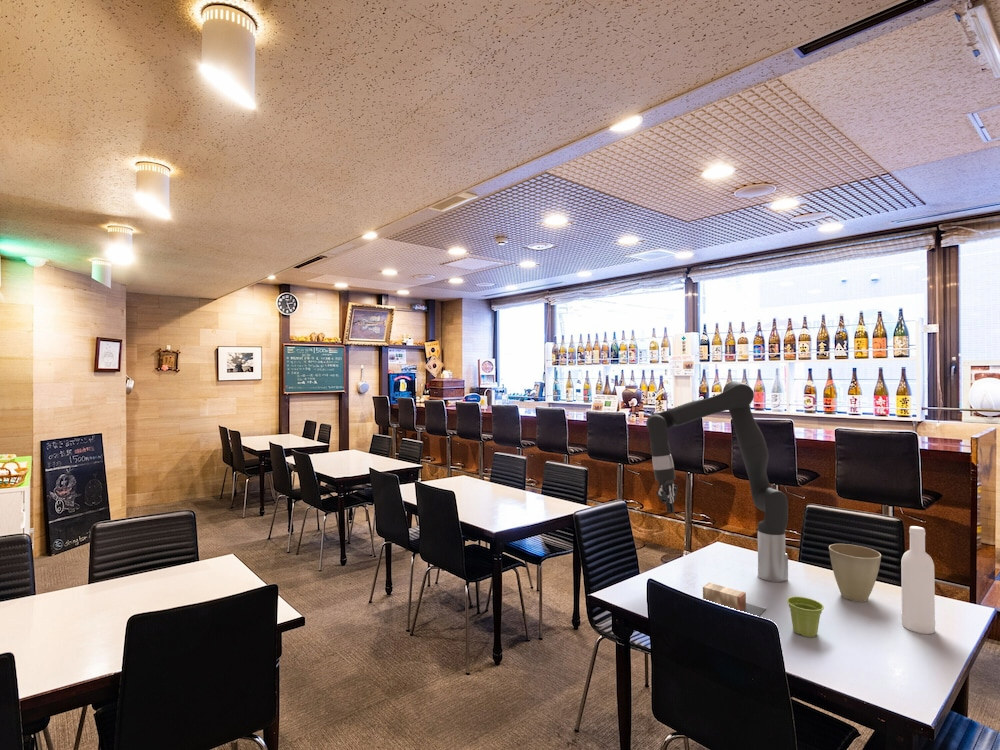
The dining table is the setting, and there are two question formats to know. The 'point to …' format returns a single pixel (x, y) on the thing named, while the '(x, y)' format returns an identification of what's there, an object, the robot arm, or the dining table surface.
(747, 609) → the slate mat
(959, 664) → the dining table surface
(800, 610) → the plant pot
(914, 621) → the bottle
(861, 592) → the plant pot
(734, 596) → the oak block
